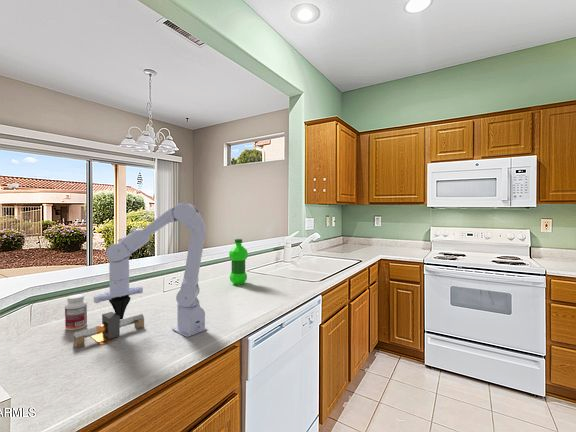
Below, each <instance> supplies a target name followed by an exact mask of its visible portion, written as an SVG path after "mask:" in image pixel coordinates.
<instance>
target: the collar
mask: <svg viewBox="0 0 576 432" xmlns="http://www.w3.org/2000/svg"><path fill="white" fill-rule="evenodd" d="M101 320H102V321H101V322H102V323H101V325H104V324H108V331H107V332H104V333H102V334H103V335H105V336H106V337H107V338H109V339H111V338H114V339H115V338H117V337H120V334H121V333H120V330H121V329H120V328H121V327H120V316H119V315H117V314H115V311H114V312H113V311H110V312H105V313H102V314H101Z"/></svg>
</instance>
